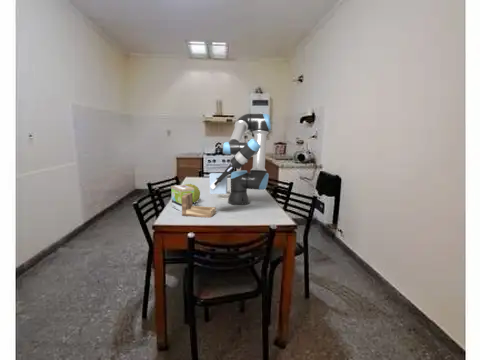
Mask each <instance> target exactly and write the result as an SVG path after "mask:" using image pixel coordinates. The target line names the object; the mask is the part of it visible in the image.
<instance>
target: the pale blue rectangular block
mask: <svg viewBox="0 0 480 360" xmlns="http://www.w3.org/2000/svg"><path fill="white" fill-rule="evenodd" d="M222 174H223V172H218V173H216V172H211V173H209V194H211V195H214V194H215V195H217V194H218V195H226V194H227V193H228V176H226V177H225V178H224V179H223V180H222V181H221V182H220V183H219V184H218V185H217V186H216V187H215V188H214V189H212V188H211V187H210V186H211V185H212V184H213V183H214V182H215V181H216V180H217V179H216V178H219V177H220V176H221V175H222Z"/></svg>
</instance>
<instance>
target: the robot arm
mask: <svg viewBox="0 0 480 360" xmlns="http://www.w3.org/2000/svg"><path fill="white" fill-rule="evenodd" d="M271 122H272V121H271V117H270V114H269V113H245V114H243V115H241V116H239V117H238V118H237V119H236V121H235V123H234V129H233V131H232V134H231V136H230V137H229V141H225V142H224V143H223V145H222V146H223V147H222V151H223V154H225V155H234V156H233V157H232V158H231V159H230V160H229V161H230V163H231V164H230V165H228V166H227V167H226V169H224V171H223V172H222V173H223V174H222V175H221V176H220V177H219V178H216V179H217V180H216V181H215V182H214V183H213V184H212V185H211V186H210V185H209V188H210V187H211V188H212V189H214V188H215V187H216V186H217V185H218V184H219V183H220V182H221V181H222V180H223V179H224V178H225V177H226V176H227V177H228V176H229V175H230V192H229V195H228V199H227V203H228V204H230V205H234V206H235V205H236V206H245V205H248V204H249V203H250V200H249V196H248V190H257V191H258V190H259V191H261V190H262V191H263V190H264V191H265V190H266V188H267V187H268V183H269V175H270V174H269V173H268V172H267V171H268V170H267V169H266V168H265V167H266V153H267V152H266V151H267V149H266V148H267V135H269V132H270V131H271V130H272V125H271ZM247 131H252V134H253V136H254V137H253V138H251V139H250V140H249V141H247V142H243V138H244V136H245V133H246V132H247ZM251 158H252V168H251V169H250V170H249V171H250V172H248V170H244V169H243V170H240V169H241V168H242V167H243V165H245V164H246V163H248V161H249V160H250V159H251ZM235 168H236V169H237V171H235V170H236V169H235Z"/></svg>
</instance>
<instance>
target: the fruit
mask: <svg viewBox="0 0 480 360" xmlns="http://www.w3.org/2000/svg"><path fill="white" fill-rule="evenodd" d="M184 185H186V186H189V187H192V188H194V203H197V202H198V201H199V199H200V198H201V197H200V196H201V190H200V189H199V187H198V186H197V185H195V184H193V183H186V184H184Z"/></svg>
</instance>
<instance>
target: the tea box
mask: <svg viewBox="0 0 480 360" xmlns="http://www.w3.org/2000/svg"><path fill="white" fill-rule="evenodd" d="M170 187H171V191H170V192H171V193H170V194H171V208H174V209H176V210H177V211H180V212H181V213H182V196H183V195H185V194H187V193H192V206H196V205H195V202H194V188H192V187H189V186H186V185H185V184H178V185H171V186H170Z"/></svg>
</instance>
